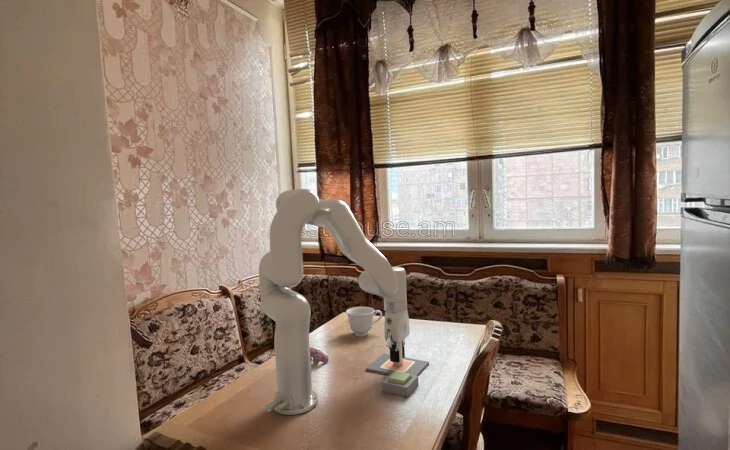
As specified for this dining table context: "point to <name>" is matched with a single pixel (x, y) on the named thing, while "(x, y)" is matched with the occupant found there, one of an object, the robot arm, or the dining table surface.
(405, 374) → the button
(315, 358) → the video game controller
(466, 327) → the dining table surface
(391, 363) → the picture board
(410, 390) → the button housing
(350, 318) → the teacup
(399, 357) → the marker
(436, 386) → the dining table surface
